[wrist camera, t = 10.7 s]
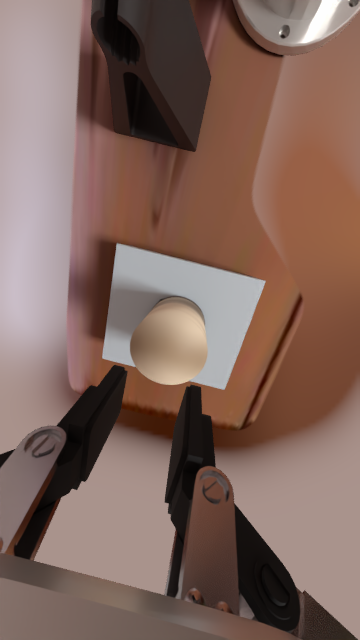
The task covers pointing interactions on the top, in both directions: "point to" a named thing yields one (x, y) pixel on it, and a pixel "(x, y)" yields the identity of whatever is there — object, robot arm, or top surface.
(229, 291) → the gray rectangular block
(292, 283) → the top surface
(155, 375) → the beech peg
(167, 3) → the dark grey a-shaped piece
